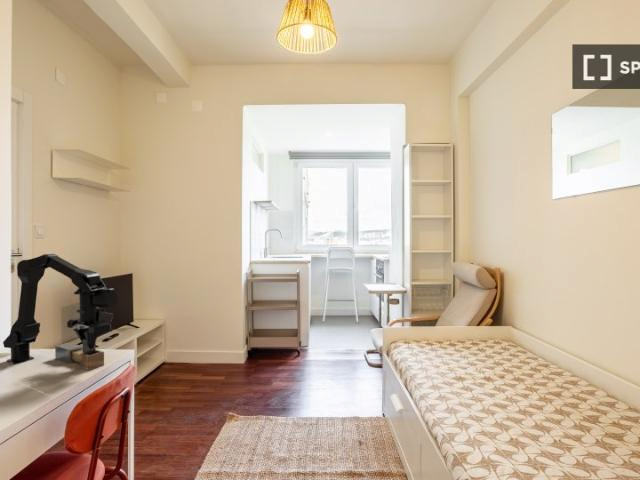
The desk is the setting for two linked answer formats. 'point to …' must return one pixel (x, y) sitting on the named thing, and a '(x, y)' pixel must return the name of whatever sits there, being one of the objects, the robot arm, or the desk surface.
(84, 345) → the slider
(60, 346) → the sleeve
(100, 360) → the socket
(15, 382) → the desk surface
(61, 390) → the desk surface
